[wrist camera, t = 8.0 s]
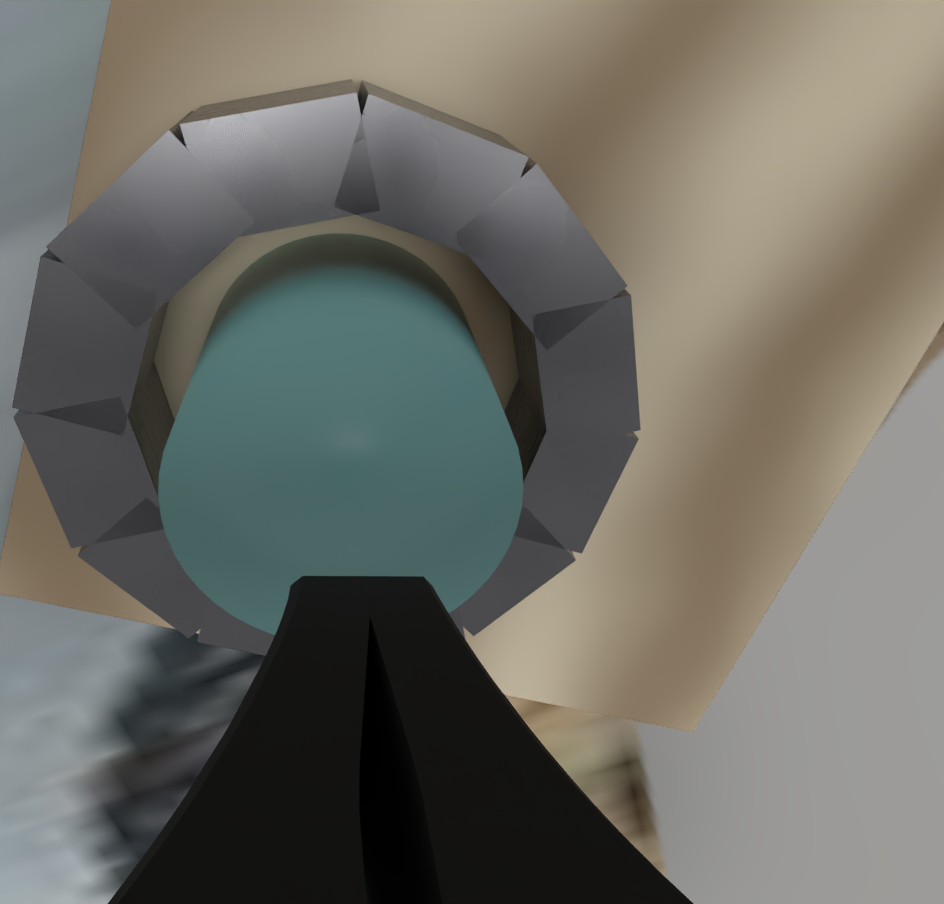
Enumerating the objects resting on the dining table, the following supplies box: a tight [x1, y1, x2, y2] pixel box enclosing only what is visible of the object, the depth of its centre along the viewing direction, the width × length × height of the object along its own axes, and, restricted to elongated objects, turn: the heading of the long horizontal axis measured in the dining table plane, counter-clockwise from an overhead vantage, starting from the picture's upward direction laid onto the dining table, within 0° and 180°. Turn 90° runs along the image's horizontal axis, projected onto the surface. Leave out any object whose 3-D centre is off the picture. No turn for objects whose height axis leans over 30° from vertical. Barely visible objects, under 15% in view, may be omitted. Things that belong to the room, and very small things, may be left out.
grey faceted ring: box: [12, 79, 641, 656], centre depth 15 cm, size 10×10×2 cm
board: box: [0, 0, 944, 732], centre depth 16 cm, size 16×20×1 cm
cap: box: [158, 233, 523, 635], centre depth 14 cm, size 5×5×5 cm
